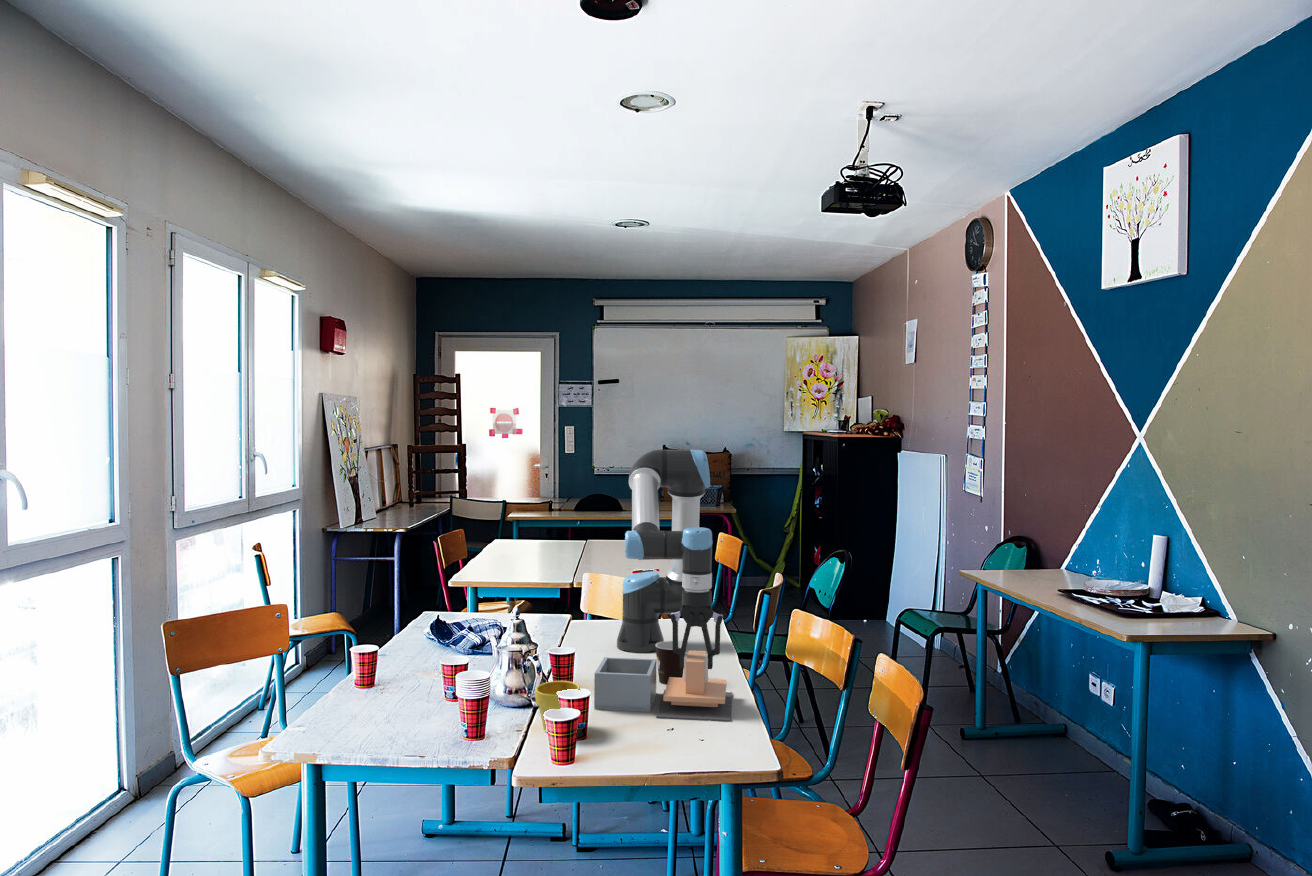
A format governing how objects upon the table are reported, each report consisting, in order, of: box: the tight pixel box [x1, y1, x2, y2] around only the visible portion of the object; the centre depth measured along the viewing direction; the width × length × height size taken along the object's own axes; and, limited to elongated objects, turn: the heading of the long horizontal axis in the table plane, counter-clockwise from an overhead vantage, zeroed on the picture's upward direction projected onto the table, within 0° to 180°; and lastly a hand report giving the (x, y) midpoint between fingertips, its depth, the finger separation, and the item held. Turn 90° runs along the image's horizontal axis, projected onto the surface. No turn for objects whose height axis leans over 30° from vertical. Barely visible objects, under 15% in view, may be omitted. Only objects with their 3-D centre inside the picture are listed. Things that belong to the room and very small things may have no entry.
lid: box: [662, 650, 727, 707], centre depth 203 cm, size 15×15×11 cm
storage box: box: [593, 656, 657, 713], centre depth 206 cm, size 14×14×9 cm
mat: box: [655, 688, 733, 722], centre depth 204 cm, size 20×18×1 cm
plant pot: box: [535, 680, 581, 730], centre depth 187 cm, size 10×10×10 cm
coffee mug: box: [655, 640, 687, 686], centre depth 224 cm, size 12×9×10 cm
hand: (696, 680), depth 204 cm, fingers closed on lid, 4 cm apart
